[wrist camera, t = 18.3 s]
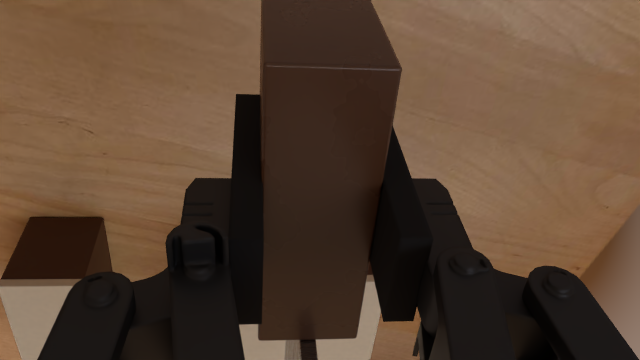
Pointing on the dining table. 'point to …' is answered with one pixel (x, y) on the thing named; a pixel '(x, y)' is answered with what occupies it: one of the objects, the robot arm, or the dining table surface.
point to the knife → (321, 164)
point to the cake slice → (49, 274)
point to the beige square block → (333, 354)
